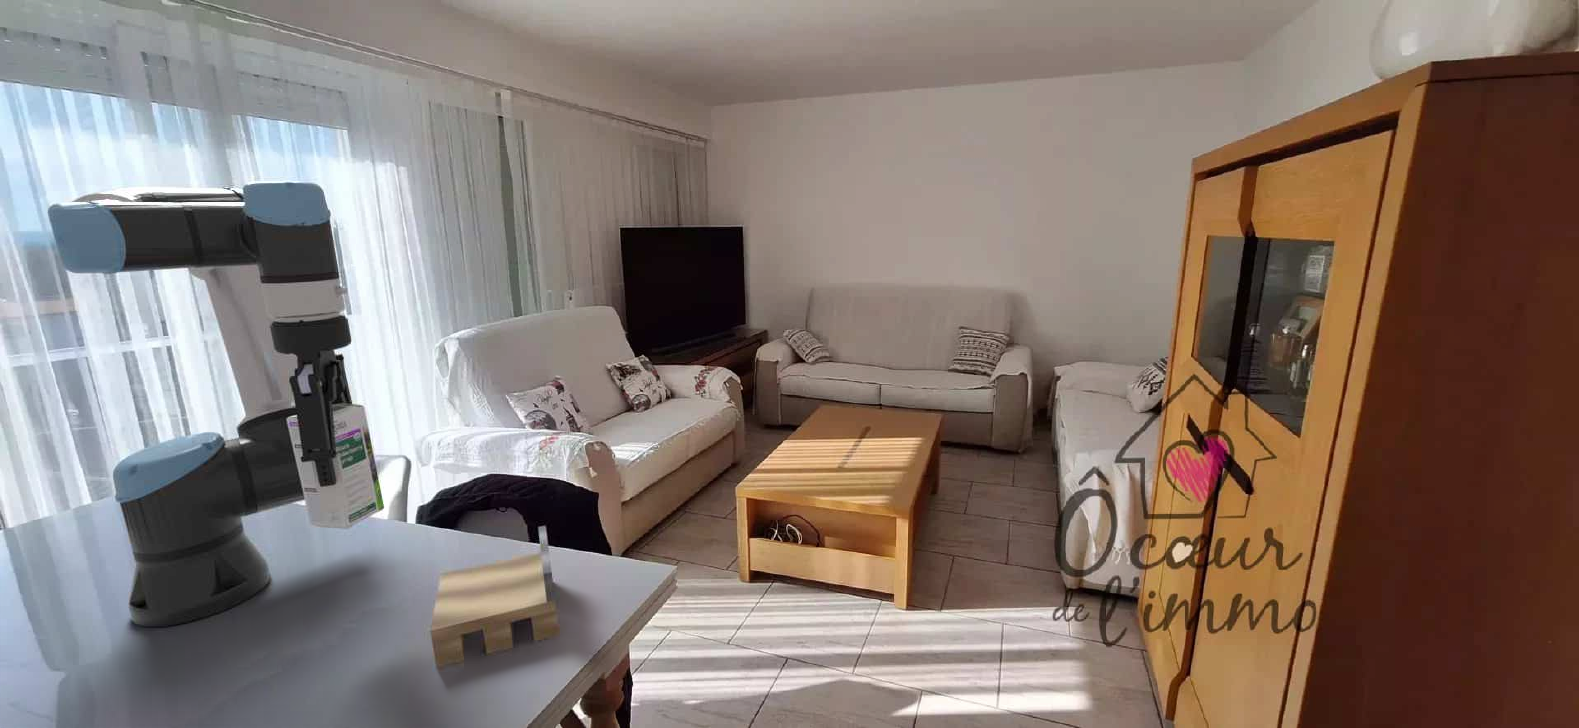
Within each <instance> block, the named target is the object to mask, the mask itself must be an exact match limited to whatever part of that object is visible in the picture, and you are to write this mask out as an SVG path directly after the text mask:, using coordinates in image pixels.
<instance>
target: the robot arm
mask: <svg viewBox="0 0 1579 728" xmlns="http://www.w3.org/2000/svg"><path fill="white" fill-rule="evenodd" d="M47 215H48V220H49V222H50V226H51V231H52V235H53V237H54V241H55V245H56V248H57V251H58V255H59V258H60V263H61V265H62V267H63V269H64V270H66V271H68V272H70V273H74V274H103V275H109V274H110V275H111V274H112V275H113V274H117V273H128V272H129V273H131V272H142V271H143V272H144V271H158V270H160V271H161V270H175V269H177V270H178V269H187V270H188V272H189V273H190V275H192V276H193V277H195V278H198V279H199V280H202V281H204V283H205V285H206V289H207V292H208V295H209V299H210V301H211V305H212V308H213V311H214V314H215V315H214V316H215V319H216V321H217V325H218V328H219V330H220V331H219V332H220V334H221V338H222V341H223V345H224V348H225V351H226V354H227V358H228V361H229V364H230V367H231V371H232V374H233V378H234V380H235V383H236V386H237V389H238V393H239V396H240V401H241V403H242V406H243V410H244V413H245V416H244V417H243V419H242V420H241V421H240V422H239V423H238V424H237V426H236V431H237V435H238V437H237V438H233V439H226V440H225V438H224V437H223V436H222V434H220V433H218V432H214V431H213V432H212V431H210V432H209V431H207V432H201V433H197V434H195V433H194V434H188V435H184V436H180V437H176V438H173V439H169V440H166V441H163V442H160V443H156V444H153V445H150V446H148V447H145V448H142V449H141V450H138V451H135V452H134V453H132V454H130V455H128V456H126V457H124V459H122V460H121V461H119V462H118V463H117V465H116V466H115V467H114V469H113V472H112V479H113V484H114V490H115V495H114V499H115V501H116V503H119V505H120V509H121V514H122V518H123V522H124V525H125V529H126V533H127V537H128V541H129V544H130V548H131V551H132V554H133V559H134V562H135V567H134V573H133V577H132V583H131V589H130V595H129V599H128V610H129V614H130V617H131V620H132V622H133V623H134V624H135V625H137V626H140V627H147V628H158V627H159V628H160V627H168V626H173V625H174V626H175V625H179V624H185V623H190V622H193V621H197V620H201V619H203V618H206V617H210V616H212V615H215V614H218V613H221V612H223V611H225V610H228V609H231V608H233V607H234V606H236V605H238V604H240V603H243V602H245V601H246V600H248V599H251V597H254V595H256V594H258V593H259V592H260V591H261V590H262V589H264V588H265V587H266V586H267V584H268V583H269V581H270V580H271V573H270V568H269V564H268V562H267V560H266V558H264V556H263V555H262V554H261V553H260V551H259V550H258V548H257V547H256V546H255V545H254V543H253V542H252V541H251V540H250V538H249V536H247V534H246V533H245V528H244V525H243V521H242V518H244V517H247V516H251V515H255V514H257V513H262V512H266V511H269V510H273V509H275V508H276V509H277V508H280V507H284V506H286V505H291V504H295V503H298V502H302V501H305V498H304V494H303V489H302V485H301V480H300V476H299V472H298V468H297V463H296V459H295V455H294V450H293V446H292V442H291V437H290V433H289V428H288V424H287V418H288V417H291V416H295V415H297V420H298V427H299V433H300V440H301V446H302V453H303V455H302V457H301V461H302V462H309V461H311V463H312V468H313V473H314V478H315V483H316V488H317V493H318V498H319V503H320V508H321V511H325V510H331V509H337V508H344V507H348V506H349V501H348V495H347V490H346V485H345V480H344V474H343V469H342V464H341V459H340V454H339V455H337V452H336V446H335V433H334V421H333V408H332V405H333V404H339V403H347V404H353V400H352V395H351V391H350V387H349V382H348V378H347V374H346V373H347V372H346V368H345V367H346V366H345V361H344V360H345V357H344V355H343V353H335V350H338V349H343V348H346V347H348V346H349V345H351V343H352V336H351V335H352V334H351V329H350V324H349V319H348V317H347V316H346V315H344V314H341V312H344V311H345V310H346V305H345V299H344V296H343V295H347V294H348V293H349V289H348V287H347V286H346V285H345V286H344V285H341V279H340V277H341V275H340V272H339V271H340V270H339V264H338V260H337V259H338V258H337V252H336V246H335V242H334V236H333V231H332V223H331V216H332V215H331V210H330V209H329V207H328V204H327V199H326V195H325V191H324V190H323V188H322V187H321V186H320V185H319V184H316V183H314V182H309V181H307V182H306V181H290V180H289V181H287V180H284V181H282V180H281V181H279V180H269V181H268V180H267V181H266V180H262V181H261V180H260V181H250V182H247V183H245V184H244V185H243V186H242V188H233V187H230V186H229V187H228V186H227V187H226V186H225V187H222V188H204V187H203V188H201V187H200V188H199V187H198V188H195V187H194V188H193V187H192V188H191V187H187V188H186V187H149V186H148V187H147V186H145V187H143V186H141V187H139V186H136V187H135V186H134V187H133V186H132V187H124V188H114V189H110V190H102V191H97V192H93V193H90V194H89V193H88V194H86V195H83V196H81V197H78V198H76V199H74V200H72V201H71V202H58V203H53V204H51V205H50V206H49V207H48V208H47ZM316 448H321V449H316Z"/></svg>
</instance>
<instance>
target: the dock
mask: <svg viewBox="0 0 1579 728" xmlns="http://www.w3.org/2000/svg"><path fill="white" fill-rule="evenodd" d="M547 533H548V532H547V526H546V525H542V526H538V537H539V546H540V548H539V549H540V552H537V553H533V554H527V555H522V556H518V557H517V556H516V557H514V558H509V559H504V560H499V561H495V562H489V563H485V564H480V565H475V566H470V567H466V568H461V569H457V570H452V571H447V572H442V573H440V578H439V583H438V588H437V595H436V599H435V605H434V609H433V615H432V620H431V625H430V630H429V632H430V638H431V643H432V648H433V649H432V650H433V653H434V659H435V666H436V668H440V667H444V666H448V665H452V664H455V663H458V662H463V661H465V657H466V649H467V638H468V637H467V636H468V634H469V633H474V632H477V631H480V630H482V631H483V632H482V633H483V638H484V645H485V649H486V650H485V651H486V655H488V654H493V653H497V652H500V651H504V650H508V649H512V648H514V623H513V622H517V621H521V620H525V619H529V618H531V625H532V633H533V641H534V642H539V641H542V640H547V639H549V638H554V637H558V636H560V628H559V620H558V613H557V603H556V596H555V588H554V579H553V573H552V565H551V557H550V549H549V541H548V534H547Z"/></svg>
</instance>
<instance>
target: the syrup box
mask: <svg viewBox="0 0 1579 728" xmlns="http://www.w3.org/2000/svg"><path fill="white" fill-rule="evenodd" d="M332 408H333V421H334V433H335V446H336V452H337V455H339V454H340V459H341V464H342V469H343V474H344V480H345V485H346V490H347V495H348V501H349V506H348V507H344V508H337V509H331V510H325V511H321V508H320V503H319V498H318V493H317V488H316V483H315V478H314V473H313V468H312V463H311V461H309V462H302V461H301V457H302V455H303V453H302V446H301V440H300V433H299V427H298V420H297V415H295V416H291V417H288V418H287V424H288V428H289V433H290V437H291V442H292V446H293V450H294V455H295V459H296V463H297V468H298V472H299V476H300V480H301V485H302V489H303V494H304V498H305V500H304V501H305V505H306V511H307V514H308V519H309V523H310V525H311V526H312V527H313V526H314V527H320V528H327V529H328V528H329V529H341V530H349V529H350V528H352V527H353V526H355V525H357V524H358V523H361V522H362V521H363V520H366V519H367V518H370V516H373V515H374V514H378V512H381V511H383V510H384V508H385V505H384V499H383V495H382V490H381V485H380V484H381V483H380V481H379V476H378V475H379V474H378V469H377V465H376V459H375V453H374V450H373V444H372V440H371V439H372V438H371V434H370V429H369V423H368V418H367V413H366V409H365V406H364V405H363V404H355V403H352V404H347V403H339V404H333V405H332ZM316 449H321V448H316Z"/></svg>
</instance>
